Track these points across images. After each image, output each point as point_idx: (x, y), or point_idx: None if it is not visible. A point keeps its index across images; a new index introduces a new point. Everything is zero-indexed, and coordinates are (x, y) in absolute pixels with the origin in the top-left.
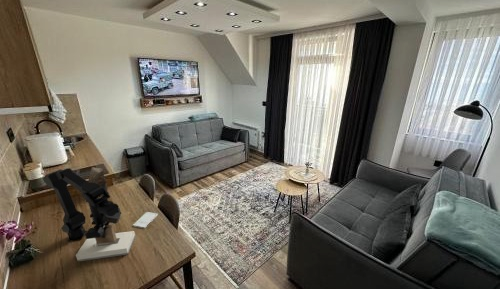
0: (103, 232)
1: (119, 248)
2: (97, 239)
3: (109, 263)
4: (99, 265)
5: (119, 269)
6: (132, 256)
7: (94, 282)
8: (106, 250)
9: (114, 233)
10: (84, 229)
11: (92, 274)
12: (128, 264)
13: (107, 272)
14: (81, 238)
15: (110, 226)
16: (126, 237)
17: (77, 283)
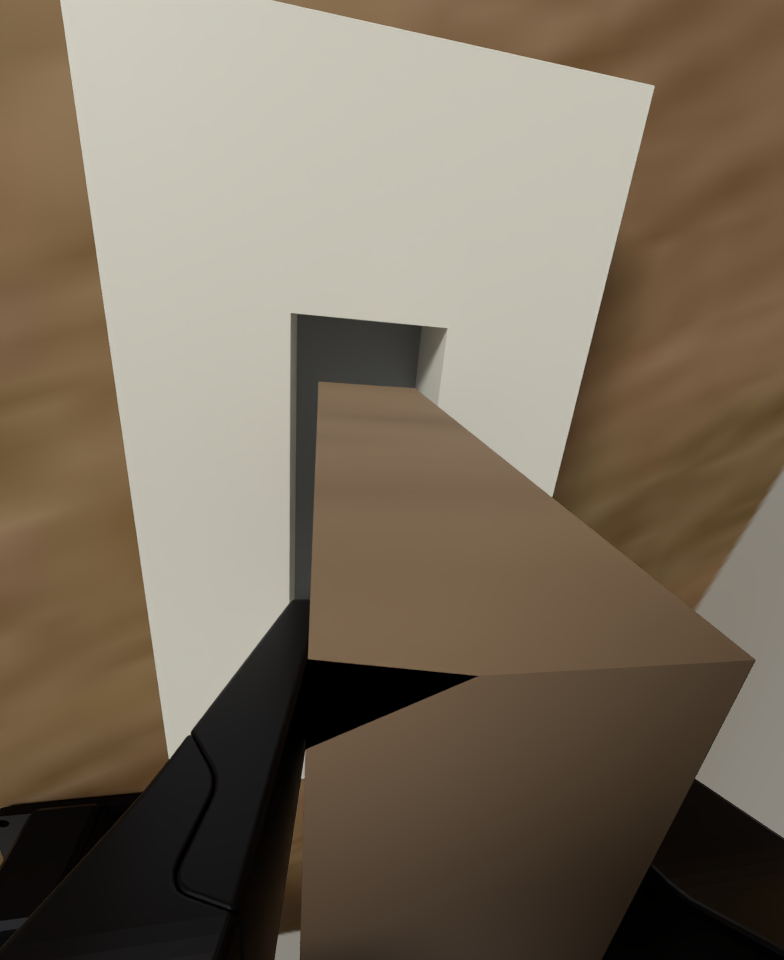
0: (722, 803)
1: (598, 249)
2: (405, 697)
3: (611, 380)
4: (591, 479)
5: (765, 224)
6: (633, 54)
7: (778, 450)
8: (551, 464)
9: (360, 420)
10: (1, 881)
11: (674, 502)
12: (752, 101)
13: (729, 362)
14: (131, 799)
15: (557, 762)
16: (306, 159)
17: (706, 580)
